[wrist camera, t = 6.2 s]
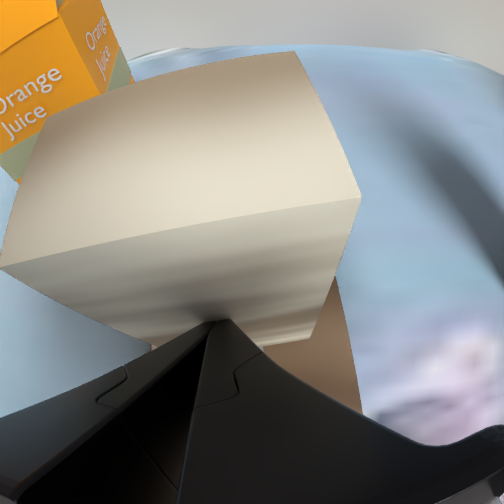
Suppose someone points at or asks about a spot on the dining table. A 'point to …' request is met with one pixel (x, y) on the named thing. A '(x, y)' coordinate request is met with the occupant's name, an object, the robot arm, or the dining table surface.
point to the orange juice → (51, 68)
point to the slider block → (189, 203)
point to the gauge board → (322, 355)
